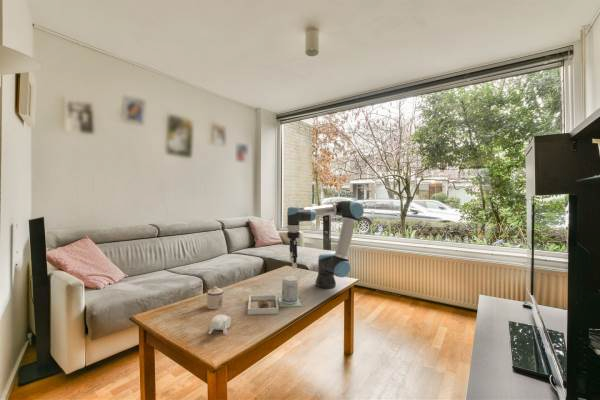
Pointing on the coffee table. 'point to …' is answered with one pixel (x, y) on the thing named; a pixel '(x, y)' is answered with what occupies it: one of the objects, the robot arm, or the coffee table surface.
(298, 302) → the mat
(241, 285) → the coffee table surface
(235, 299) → the coffee table surface
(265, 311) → the parts tray
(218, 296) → the teacup with lid
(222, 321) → the white animal figurine
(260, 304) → the walnut block
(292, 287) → the supplement tub
